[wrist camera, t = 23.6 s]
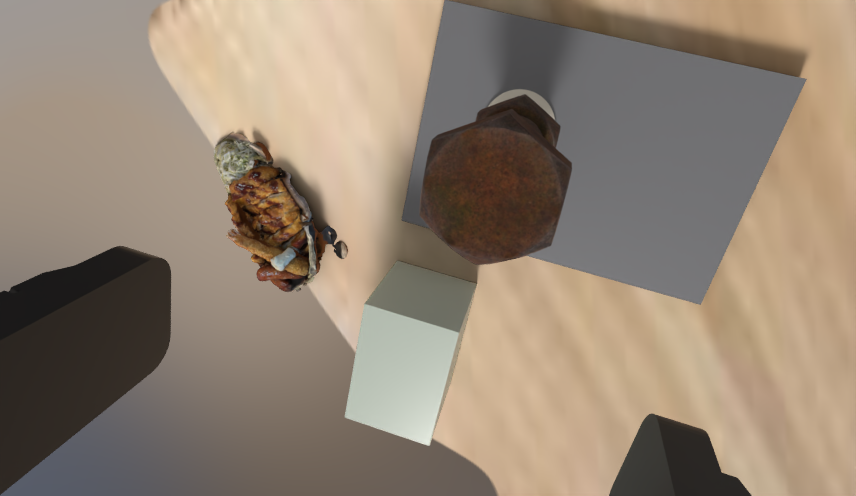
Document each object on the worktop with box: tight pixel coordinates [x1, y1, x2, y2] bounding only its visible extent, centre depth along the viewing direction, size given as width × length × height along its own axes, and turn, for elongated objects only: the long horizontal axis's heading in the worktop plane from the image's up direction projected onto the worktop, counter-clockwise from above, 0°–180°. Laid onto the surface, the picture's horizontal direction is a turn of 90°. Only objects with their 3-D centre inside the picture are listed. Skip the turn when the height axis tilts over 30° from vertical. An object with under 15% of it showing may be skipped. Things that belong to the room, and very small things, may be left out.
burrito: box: [214, 132, 348, 292], centre depth 39 cm, size 7×12×4 cm, turn 39°
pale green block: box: [345, 261, 477, 446], centre depth 38 cm, size 6×9×7 cm, turn 169°
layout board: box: [402, 0, 806, 305], centre depth 33 cm, size 20×14×1 cm
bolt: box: [419, 94, 572, 265], centre depth 26 cm, size 6×5×15 cm
